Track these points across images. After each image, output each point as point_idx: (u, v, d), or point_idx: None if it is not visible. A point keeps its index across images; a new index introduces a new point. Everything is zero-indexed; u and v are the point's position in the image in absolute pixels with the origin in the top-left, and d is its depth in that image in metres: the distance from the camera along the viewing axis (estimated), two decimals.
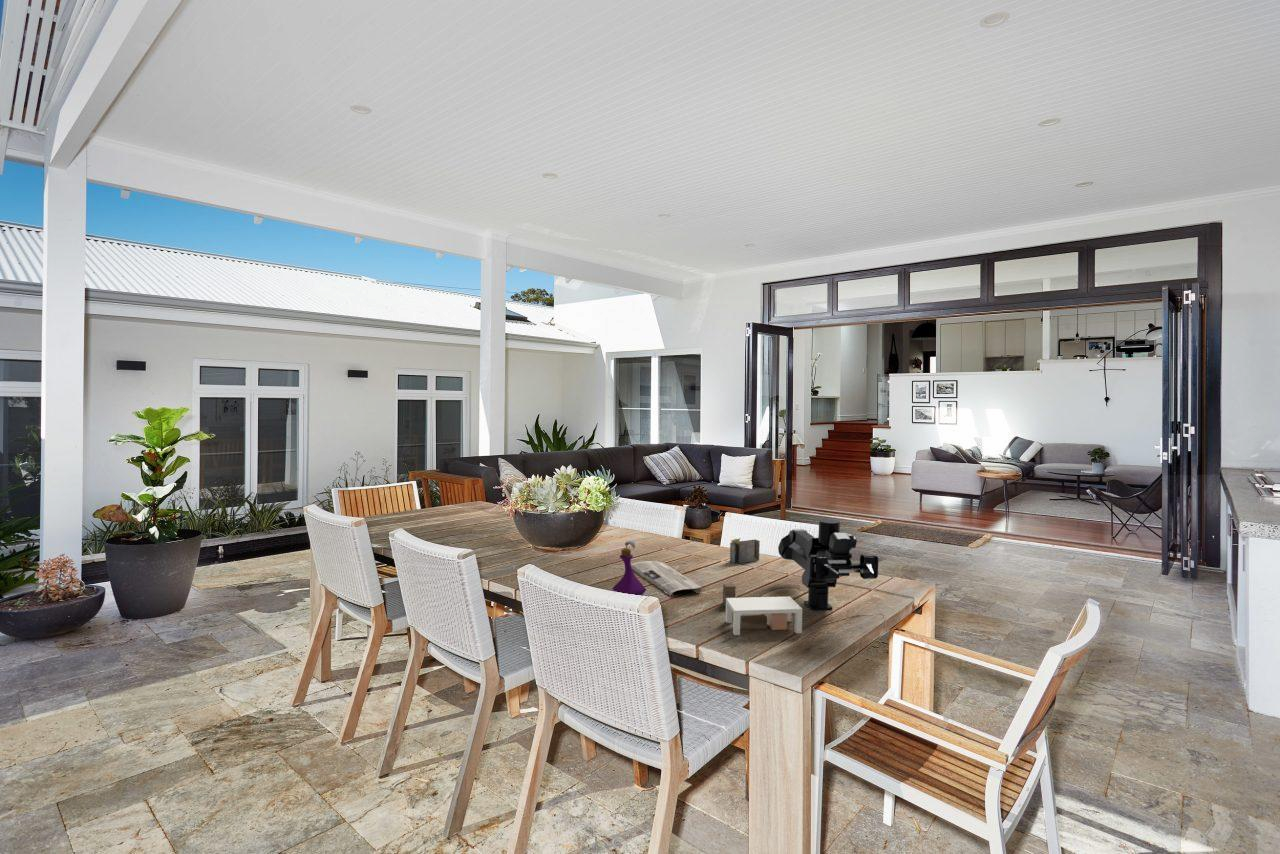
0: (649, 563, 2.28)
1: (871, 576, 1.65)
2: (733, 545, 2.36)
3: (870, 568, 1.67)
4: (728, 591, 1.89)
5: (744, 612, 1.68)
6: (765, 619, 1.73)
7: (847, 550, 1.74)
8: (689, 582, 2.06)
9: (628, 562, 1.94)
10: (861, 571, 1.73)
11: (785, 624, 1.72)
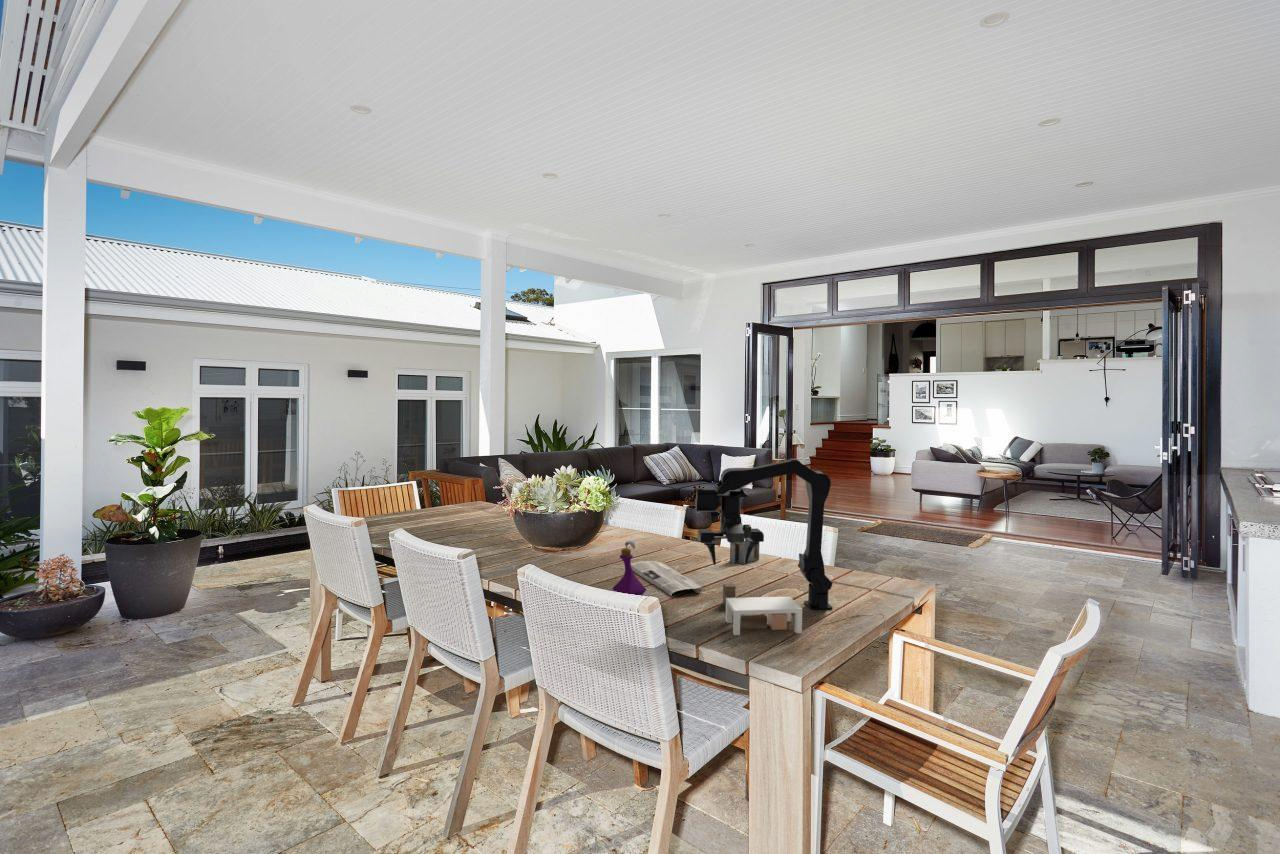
0: (648, 563, 2.28)
1: (744, 561, 1.91)
2: (733, 545, 2.36)
3: (747, 555, 1.89)
4: (728, 591, 1.89)
5: (744, 612, 1.68)
6: (765, 619, 1.73)
7: None
8: (689, 582, 2.06)
9: (628, 562, 1.94)
10: None
11: (785, 624, 1.72)
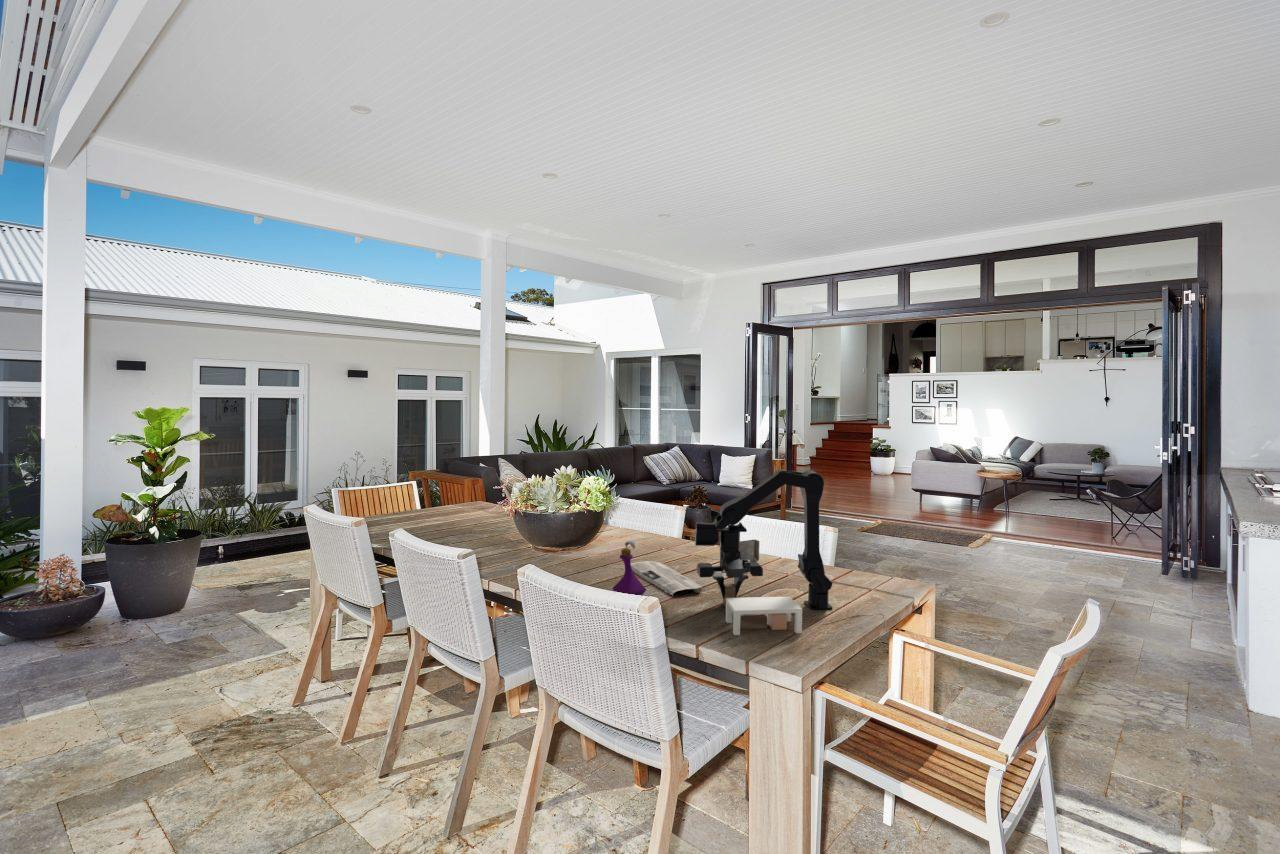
0: (647, 563, 2.27)
1: None
2: None
3: (737, 589, 1.90)
4: (728, 591, 1.89)
5: (744, 612, 1.68)
6: (765, 619, 1.73)
7: None
8: (689, 582, 2.06)
9: (628, 562, 1.94)
10: None
11: (785, 624, 1.72)
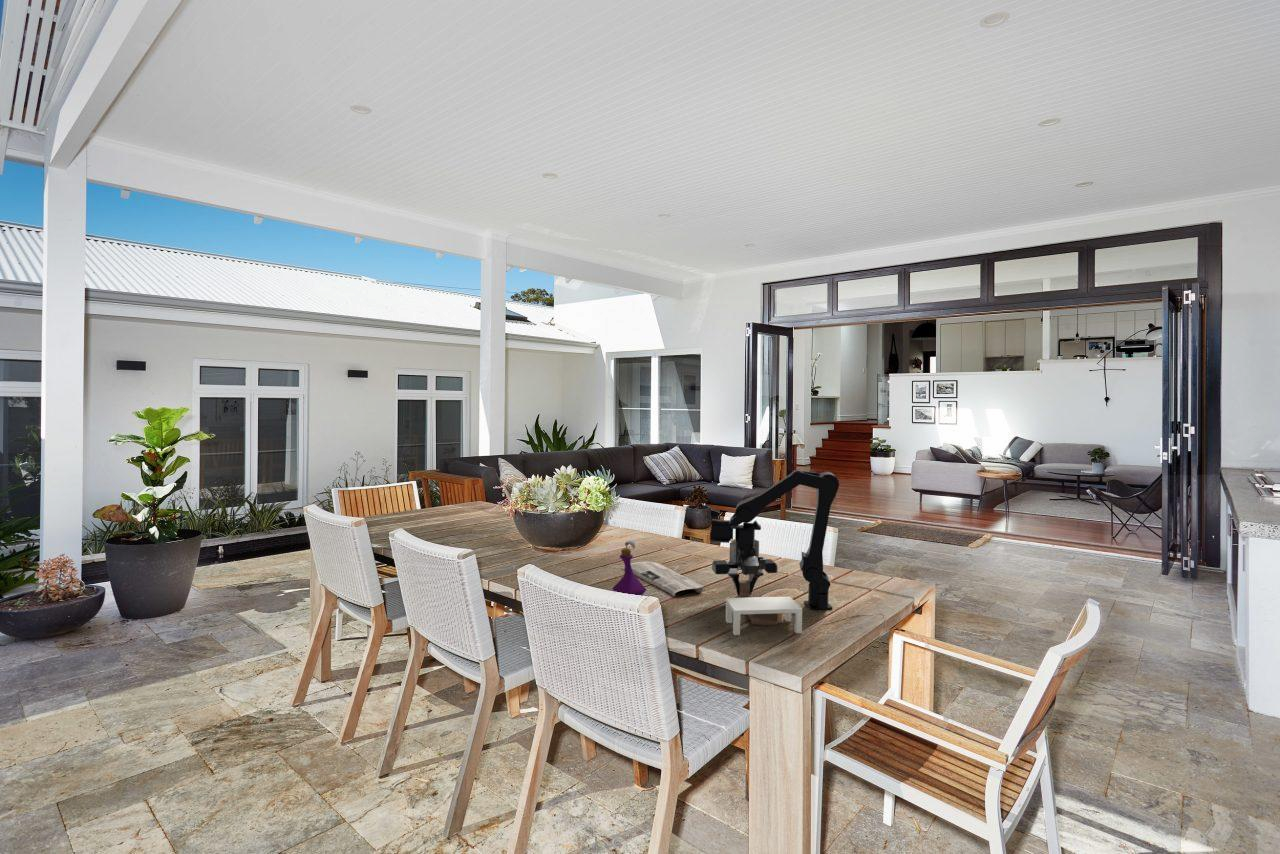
0: (644, 564, 2.27)
1: None
2: (733, 545, 2.36)
3: (752, 586, 1.93)
4: (743, 588, 1.92)
5: (744, 612, 1.68)
6: (775, 615, 1.75)
7: None
8: (690, 582, 2.07)
9: (628, 562, 1.94)
10: None
11: (780, 617, 1.77)
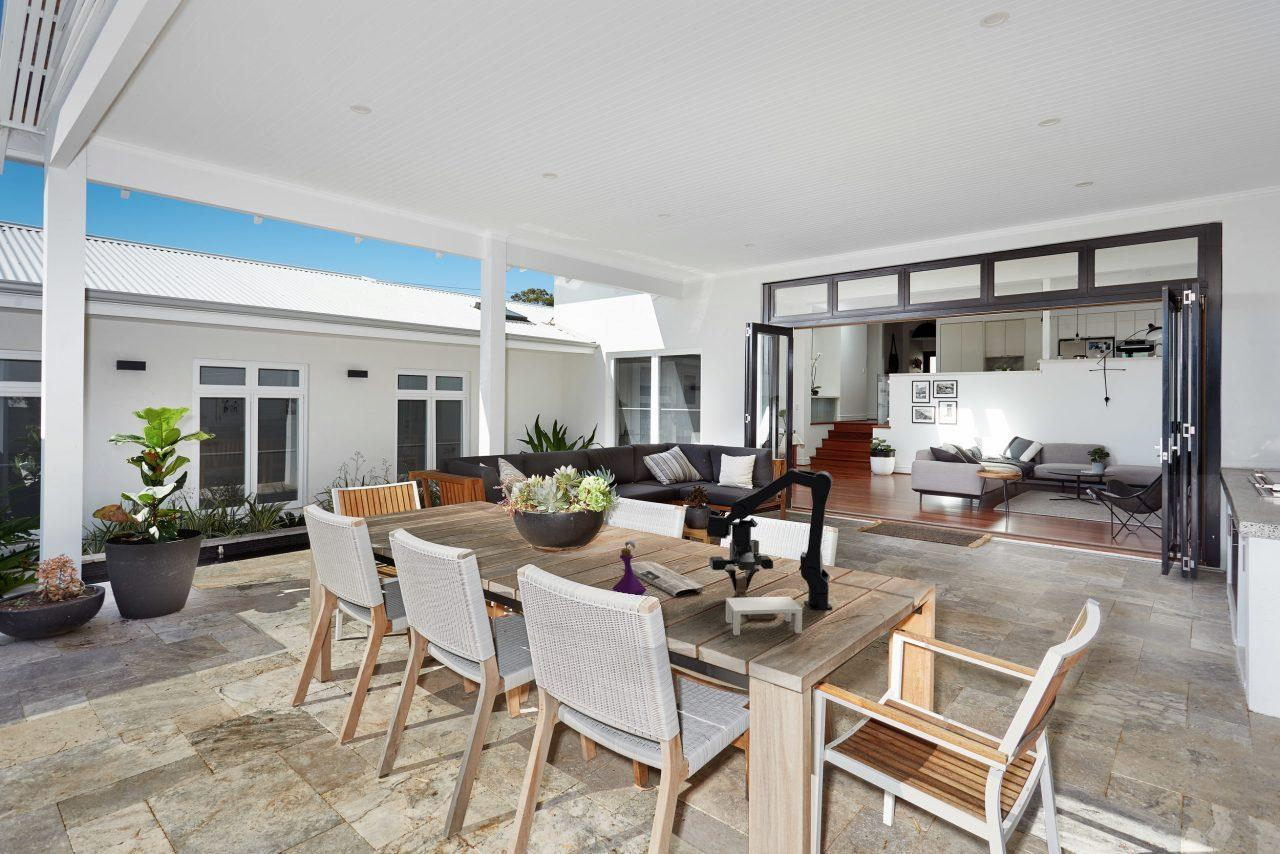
0: (643, 564, 2.27)
1: None
2: None
3: (748, 582, 1.97)
4: (739, 584, 1.96)
5: (744, 612, 1.68)
6: None
7: None
8: (690, 582, 2.07)
9: (628, 562, 1.94)
10: None
11: None
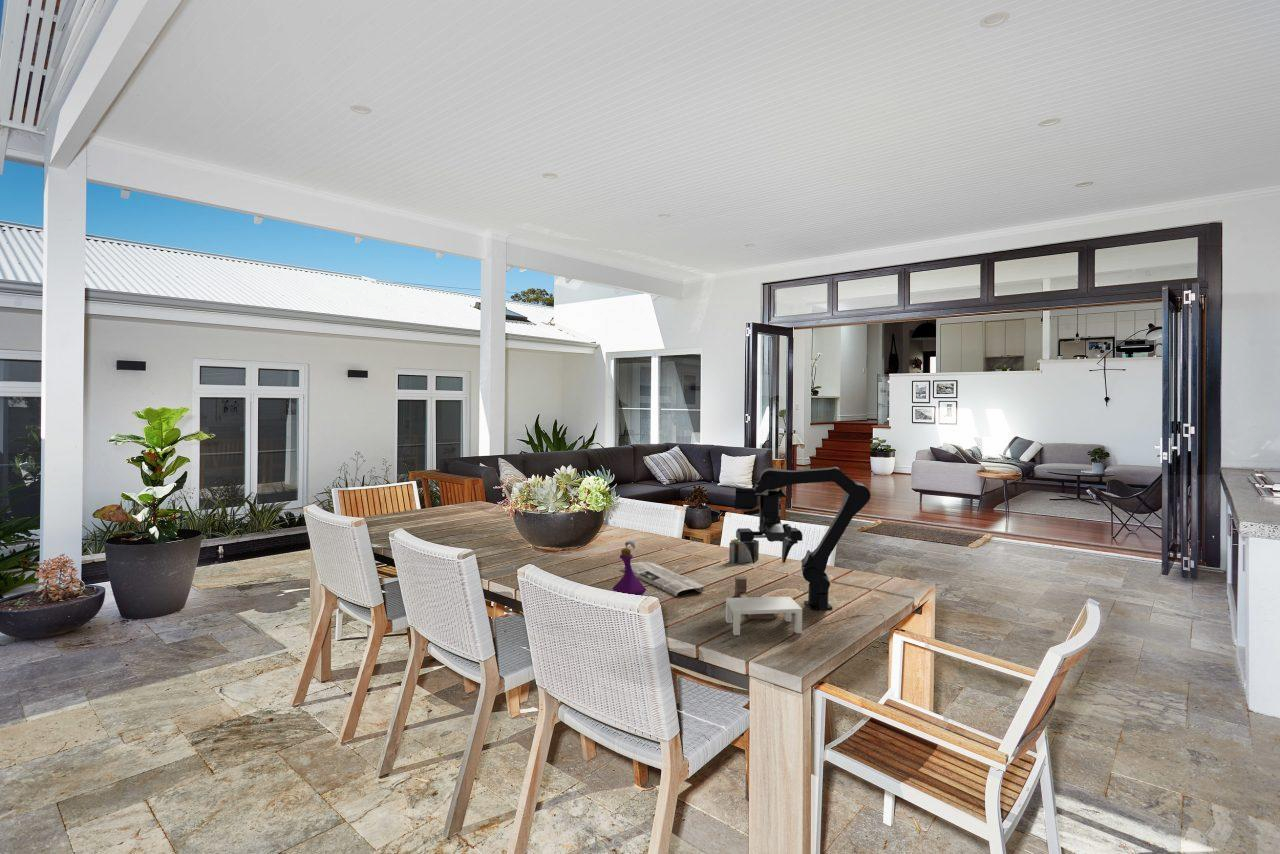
0: (641, 564, 2.26)
1: (782, 560, 1.93)
2: (732, 545, 2.35)
3: (786, 554, 1.92)
4: (739, 584, 1.97)
5: (744, 612, 1.68)
6: None
7: None
8: (690, 582, 2.07)
9: (628, 562, 1.94)
10: None
11: None
